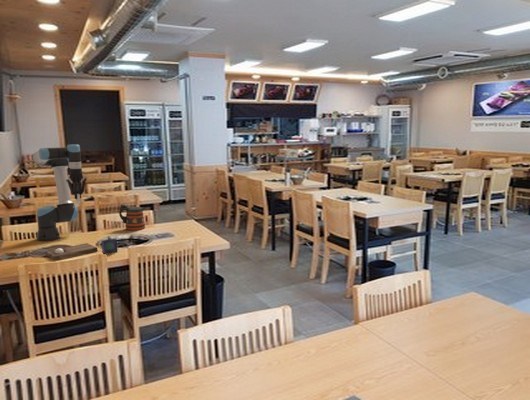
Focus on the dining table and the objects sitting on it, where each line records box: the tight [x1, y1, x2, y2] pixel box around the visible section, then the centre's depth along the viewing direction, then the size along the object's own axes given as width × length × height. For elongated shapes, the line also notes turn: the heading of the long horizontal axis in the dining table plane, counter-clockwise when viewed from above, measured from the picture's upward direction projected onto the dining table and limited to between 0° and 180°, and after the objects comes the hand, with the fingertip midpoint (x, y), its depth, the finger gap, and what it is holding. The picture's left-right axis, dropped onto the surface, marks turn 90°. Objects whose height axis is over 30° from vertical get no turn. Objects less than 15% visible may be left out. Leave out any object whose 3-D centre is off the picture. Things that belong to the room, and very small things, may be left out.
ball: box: [54, 247, 64, 253], centre depth 256 cm, size 5×5×5 cm
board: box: [45, 242, 98, 261], centre depth 261 cm, size 16×26×2 cm, turn 136°
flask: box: [100, 235, 118, 254], centre depth 261 cm, size 9×3×11 cm, turn 117°
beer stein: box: [118, 204, 146, 231], centre depth 325 cm, size 19×15×20 cm
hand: (78, 203), depth 272 cm, fingers closed
